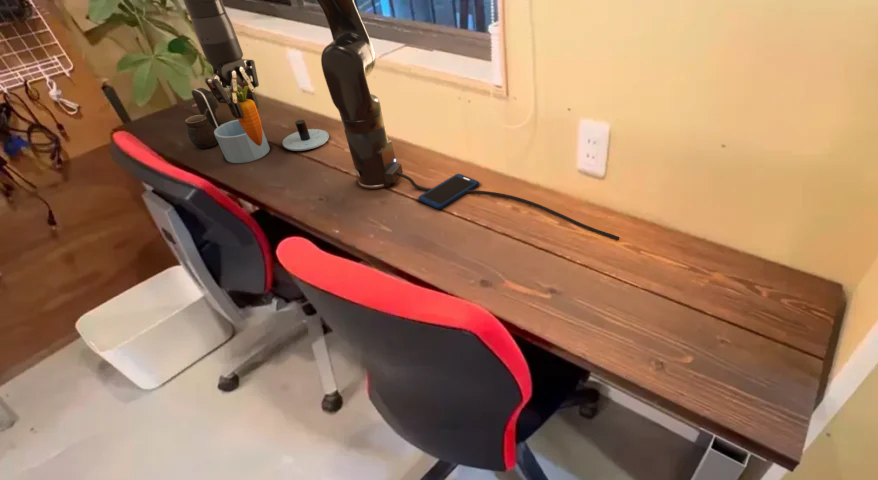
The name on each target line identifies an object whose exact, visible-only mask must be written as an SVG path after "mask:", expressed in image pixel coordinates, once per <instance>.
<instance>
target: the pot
mask: <svg viewBox="0 0 878 480" xmlns="http://www.w3.org/2000/svg"><path fill="white" fill-rule="evenodd" d="M221 124H222V125H221V126H219V127H217V128H216V130H215V131H214V134H215V137H216V139H217V143H218V145H219V148H220V150H221V152H222V154H223V156H224V158H225V160H226V161H227V162H229V163H231V164H246V163H250V162H254V161H257V160H259V159H261V158H264V157H265V156H266V155H268V153H269V152H270V151H271V147H270V145H269V142H268V140H267V136H266V134H265V132H264V129H263V128H262V144H261V146H259V145H257V144H255V143H254V142H253V141H252V140H251V139H250V138H249V137H248V135H247V134H246V132H245V131H244V129H243V128H242V126H241V124H240V122H239V120H238V119H233V120H230V121H228V122H224V123H221Z"/></svg>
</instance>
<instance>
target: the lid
mask: <svg viewBox="0 0 878 480" xmlns="http://www.w3.org/2000/svg"><path fill="white" fill-rule="evenodd" d="M294 123H295V126H296V129H297V131H296V132H293V133H291V134H289V135H288V136H286V137H284V139H283V140H282V146H283V148H284V149H286V150H289V151H293V152H302V151H309V150H311V149H316V148H318V147H321V146H322V145H324V144H326V142H328V140H329V138H330V136H329V133H328V131H326V130H324V129H320V128H309V129H308V126H307V123H306V121H305V119H298V120H296V121H295V122H294Z"/></svg>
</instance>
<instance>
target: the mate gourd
mask: <svg viewBox="0 0 878 480" xmlns="http://www.w3.org/2000/svg"><path fill="white" fill-rule="evenodd" d="M207 111H208V108H207V109H206V111H205V114H204V115H201V114H195V115H191V116H189V117H187V118H186V119H185V120H184V123H185V125H186V126H187V130H188V131H187V133H188V134H187V135H188V138H189V140H190V142H191V143H192V144H193V145H194V146H195V147H196V148H198V149H203V150H204V149H209V148H213V147H215V146H216V145H217V143H218V141H217V139H216V137H215V134H214V131H215V128H214V127H213V126H212V125H211V124H210V123H209V122H208V119H207V117H206V113H207Z"/></svg>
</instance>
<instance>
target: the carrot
mask: <svg viewBox="0 0 878 480" xmlns="http://www.w3.org/2000/svg"><path fill="white" fill-rule="evenodd" d="M228 88H231V86H228ZM237 90H238V91H237V92H236V96H237V102H238V103H239V105H240V108H241V110H242V113H243V115H244V117H243V118H242V119H239V118H237V120H239V122H240V124H241V126H242V128H243V129H244V131H245V132H246V134H247V135H248V137H249V138H250V139H251V140H252V141H253V142H254V143H255V144H257V145H259V146H261V144H262V129H263V126H262V121H261V117H260V114H259V111H258V108H256V105H255V103H254V101H253V100H250V99H246V95H247V90H248V87H247V86H245V87H244V89H243V90H242V89H241V88H240V86H237Z"/></svg>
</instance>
